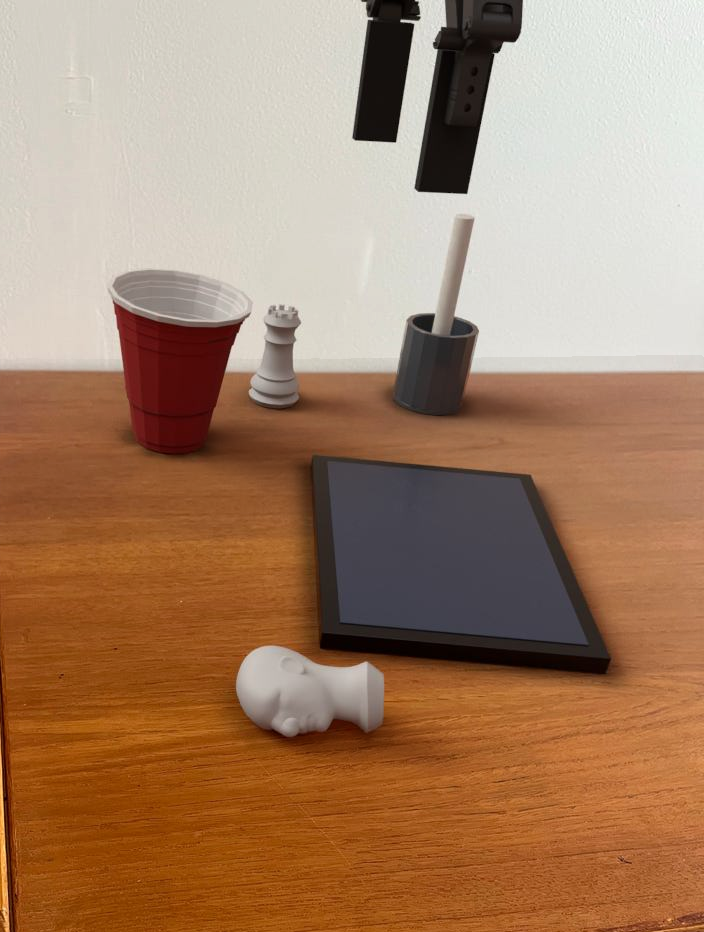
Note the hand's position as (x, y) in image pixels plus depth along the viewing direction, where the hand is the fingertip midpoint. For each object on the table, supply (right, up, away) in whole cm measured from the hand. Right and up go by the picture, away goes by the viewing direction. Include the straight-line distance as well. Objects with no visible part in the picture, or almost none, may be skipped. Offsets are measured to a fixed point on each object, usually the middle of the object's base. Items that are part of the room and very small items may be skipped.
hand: (404, 164), depth 60 cm
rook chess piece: (-6, -7, +31) cm, 32 cm away
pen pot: (+8, -6, +33) cm, 35 cm away
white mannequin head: (-6, -32, -5) cm, 33 cm away
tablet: (+4, -22, +11) cm, 25 cm away
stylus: (+8, -6, +33) cm, 34 cm away
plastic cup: (-15, -12, +23) cm, 29 cm away
